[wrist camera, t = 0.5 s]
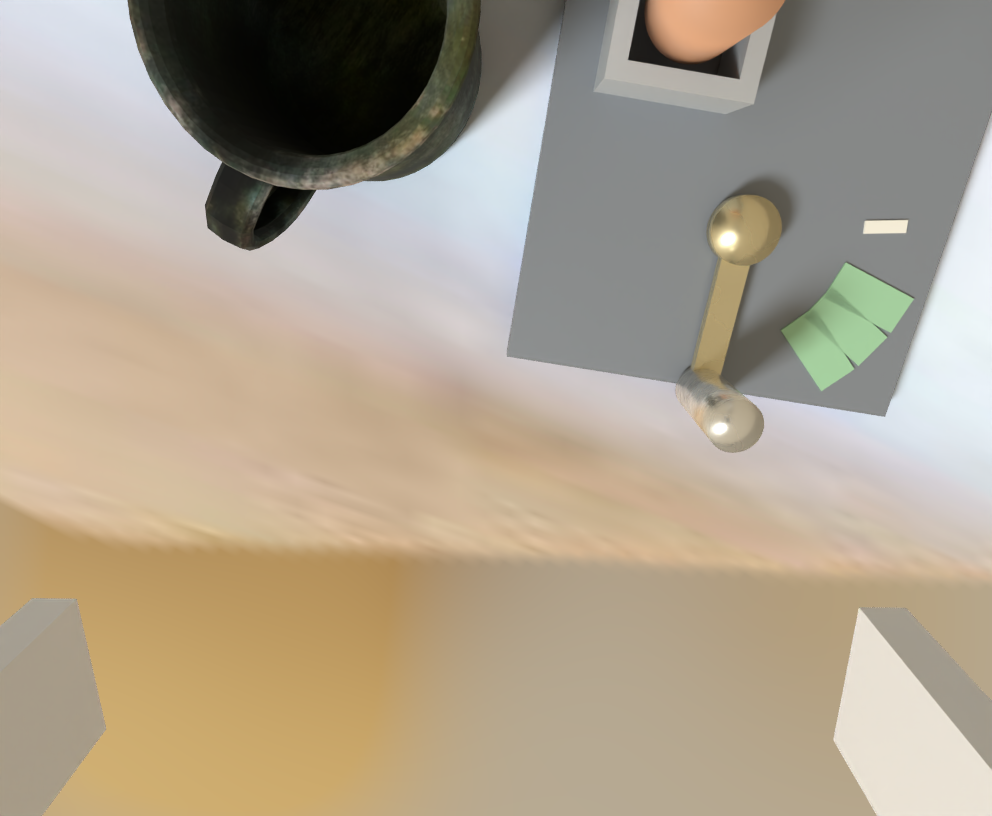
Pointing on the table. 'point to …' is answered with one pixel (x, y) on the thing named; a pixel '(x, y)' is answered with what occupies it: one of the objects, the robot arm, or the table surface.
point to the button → (703, 25)
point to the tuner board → (754, 192)
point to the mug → (309, 94)
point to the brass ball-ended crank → (728, 322)
